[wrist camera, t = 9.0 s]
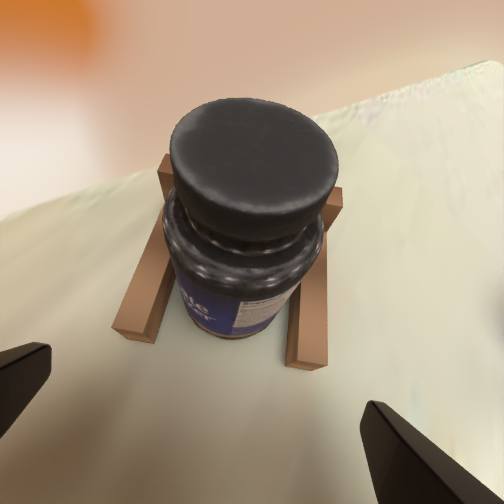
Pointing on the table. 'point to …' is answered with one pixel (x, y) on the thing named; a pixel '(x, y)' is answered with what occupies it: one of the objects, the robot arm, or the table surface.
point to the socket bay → (163, 276)
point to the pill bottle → (245, 210)
